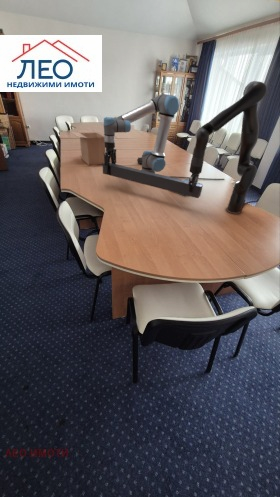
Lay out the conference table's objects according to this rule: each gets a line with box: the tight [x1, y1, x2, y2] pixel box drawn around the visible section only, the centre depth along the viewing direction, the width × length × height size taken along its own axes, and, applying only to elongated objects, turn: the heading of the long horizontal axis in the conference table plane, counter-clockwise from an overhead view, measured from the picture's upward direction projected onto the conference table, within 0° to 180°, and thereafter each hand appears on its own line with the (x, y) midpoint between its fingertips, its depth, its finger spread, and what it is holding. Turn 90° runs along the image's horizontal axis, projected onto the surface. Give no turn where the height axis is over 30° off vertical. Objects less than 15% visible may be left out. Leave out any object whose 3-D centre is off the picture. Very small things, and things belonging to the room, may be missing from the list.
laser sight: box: [136, 154, 143, 165], centre depth 236 cm, size 10×22×10 cm, turn 78°
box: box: [70, 129, 106, 166], centre depth 229 cm, size 44×36×27 cm
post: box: [102, 162, 204, 199], centre depth 161 cm, size 79×5×8 cm, turn 60°
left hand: (110, 173), depth 175 cm, fingers closed on post, 5 cm apart
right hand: (191, 190), depth 149 cm, fingers closed on post, 5 cm apart
